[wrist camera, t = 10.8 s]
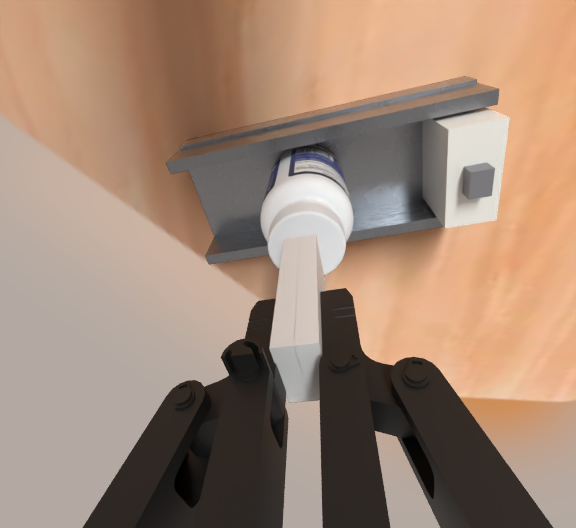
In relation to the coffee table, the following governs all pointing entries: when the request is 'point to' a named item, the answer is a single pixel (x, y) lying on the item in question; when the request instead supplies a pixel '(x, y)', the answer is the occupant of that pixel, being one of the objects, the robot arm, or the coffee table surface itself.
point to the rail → (343, 146)
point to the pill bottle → (307, 204)
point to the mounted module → (464, 165)
